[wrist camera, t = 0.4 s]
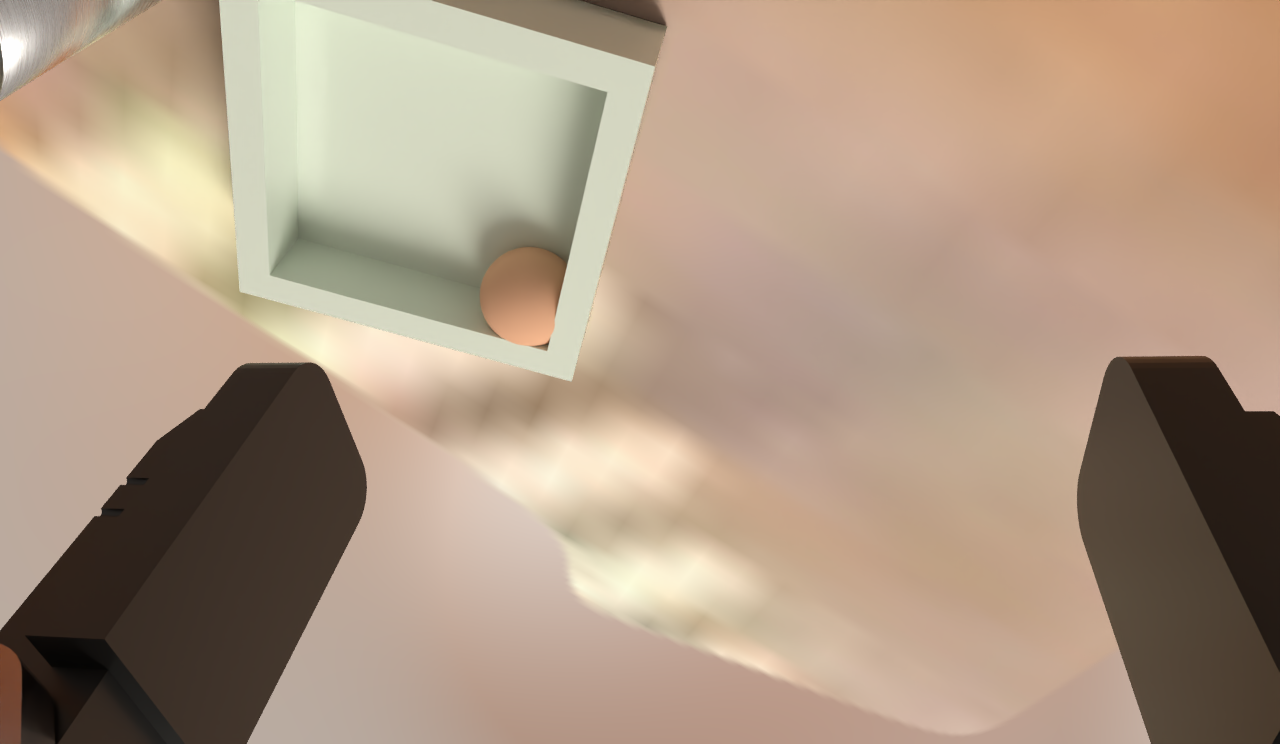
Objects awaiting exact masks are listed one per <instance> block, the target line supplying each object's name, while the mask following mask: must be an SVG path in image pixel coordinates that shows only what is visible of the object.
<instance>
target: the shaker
mask: <svg viewBox="0 0 1280 744" xmlns="http://www.w3.org/2000/svg"><path fill="white" fill-rule="evenodd" d="M160 1H162V0H0V101H1V100H2V99H4V98H5V97H7V96H9V95H10V94H12V93H14V92H15V91H17V90H18V89H20V88H22V87H23V86H25V85H26V84H28V83H30V82H31V81H33V80H35V79H36V78H38V77H39V76H41V75H43V74H44V73H46V72H47V71H49V70H51V69H52V68H54V67H56V66H57V65H59V64H60V63H62V62H64V61H65V60H67V59H68V58H70V57H72V56H73V55H75V54H76V53H78V52H80V51H81V50H83V49H85V48H86V47H88V46H89V45H91V44H93V43H94V42H96V41H97V40H99V39H101V38H102V37H104V36H106V35H107V34H109V33H110V32H112V31H114V30H115V29H117V28H118V27H120V26H122V25H123V24H125V23H127V22H128V21H130V20H131V19H133V18H135V17H136V16H138V15H139V14H141V13H143V12H144V11H146V10H148V9H149V8H151V7H152V6H154V5H156V4H157V3H159V2H160Z"/></svg>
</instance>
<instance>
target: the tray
mask: <svg viewBox="0 0 1280 744" xmlns="http://www.w3.org/2000/svg"><path fill="white" fill-rule="evenodd" d="M219 6H220V20H221V34H222V48H223V63H224V77H225V91H226V105H227V119H228V133H229V147H230V161H231V175H232V189H233V203H234V217H235V232H236V246H237V260H238V274H239V288H240V292H243V293H247V294H250V295H254V296H258V297H261V298H265V299H269V300H273V301H276V302H280V303H284V304H287V305H291V306H295V307H298V308H302V309H306V310H309V311H313V312H317V313H320V314H324V315H328V316H332V317H335V318H339V319H343V320H346V321H350V322H354V323H357V324H361V325H365V326H368V327H372V328H376V329H379V330H383V331H387V332H391V333H394V334H398V335H402V336H405V337H409V338H413V339H416V340H420V341H424V342H427V343H431V344H435V345H438V346H442V347H446V348H450V349H453V350H457V351H461V352H464V353H468V354H472V355H475V356H479V357H483V358H486V359H490V360H494V361H497V362H501V363H505V364H509V365H512V366H516V367H520V368H523V369H527V370H531V371H534V372H538V373H542V374H545V375H549V376H553V377H556V378H560V379H564V380H568V381H571V382H572V378H573V375H574V371H575V368H576V364H577V361H578V357H579V354H580V350H581V347H582V343H583V340H584V336H585V332H586V329H587V325H588V321H589V318H590V314H591V310H592V306H593V303H594V299H595V295H596V291H597V288H598V284H599V280H600V276H601V273H602V269H603V265H604V261H605V257H606V254H607V250H608V246H609V242H610V239H611V235H612V231H613V227H614V224H615V220H616V216H617V212H618V209H619V205H620V201H621V197H622V194H623V190H624V186H625V182H626V178H627V175H628V171H629V167H630V163H631V160H632V156H633V152H634V148H635V145H636V141H637V137H638V133H639V130H640V126H641V122H642V118H643V115H644V111H645V107H646V103H647V100H648V96H649V92H650V88H651V84H652V81H653V77H654V73H655V69H656V66H657V62H658V58H659V54H660V51H661V47H662V43H663V39H664V36H665V32H666V28H667V26H664V25H660V24H657V23H654V22H650V21H647V20H644V19H640V18H637V17H634V16H630V15H627V14H624V13H620V12H617V11H614V10H610V9H607V8H604V7H600V6H597V5H593V4H590V3H587V2H583V1H580V0H219ZM521 247H536V248H542V249H545V250H548V251H550V252H552V253H554V254H556V255H557V256H559V257H560V258H561V259H563V260H564V261H565V262H566V263H567V268H566V273H565V277H564V281H563V286H562V290H561V294H560V299H559V303H558V307H557V311H556V316H555V327H554V331H553V333H552V335H551V337H550V342H549V343H547V344H544V345H538V346H524V345H518V344H514V343H512V342H509V341H507V340H505V339H503V338H502V337H500V336H499V335H498V334H496V333H495V332H494V331H493V330H492V329H491V327H490V326H489V324H488V323H487V321H486V320H485V318H484V315H483V313H482V310H481V305H480V287H481V283H482V280H483V277H484V275H485V273H486V271H487V270H488V268H489V267H490V265H491V264H492V263H493V262H494V261H495V260H496V259H497V258H498V257H500V256H501V255H503V254H504V253H506V252H508V251H511V250H513V249H517V248H521Z"/></svg>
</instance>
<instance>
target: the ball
mask: <svg viewBox="0 0 1280 744" xmlns="http://www.w3.org/2000/svg"><path fill="white" fill-rule="evenodd" d="M566 268H567V263H566V262H565V261H564V260H563V259H561V258H560V257H559V256H557V255H556V254H554V253H552V252H550V251H548V250H545V249H542V248H536V247H521V248H517V249H513V250H511V251H508V252H506V253H504V254H503V255H501V256H500V257H498V258H497V259H496V260H495V261H494V262H493V263H492V264H491V265H490V267H489V268H488V270H487V271H486V273H485V275H484V277H483V280H482V283H481V287H480V305H481V310H482V313H483V315H484V318H485V320H486V321H487V323H488V324H489V326H490V327H491V329H492V330H493V331H494V332H495V333H496V334H498V335H499V336H500V337H502V338H503V339H505V340H507V341H509V342H512V343H514V344H518V345H524V346H538V345H544V344H547V343H549V342H550V337H551V335H552V333H553V331H554V327H555V316H556V311H557V307H558V303H559V299H560V294H561V290H562V286H563V281H564V277H565V273H566Z"/></svg>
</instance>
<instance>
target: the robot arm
mask: <svg viewBox="0 0 1280 744" xmlns="http://www.w3.org/2000/svg"><path fill="white" fill-rule="evenodd" d="M366 489H367V485H366V474H365V468H364V465H363V462H362V460H361V457H360V455H359V452H358V450H357V447H356V445H355V442H354V440H353V437H352V435H351V432H350V430H349V428H348V425H347V423H346V420H345V418H344V415H343V413H342V410H341V408H340V405H339V403H338V401H337V398H336V396H335V393H334V391H333V388H332V386H331V383H330V381H329V379H328V377H327V375H326V373H325V372H324V370H323V369H322V368H321V367H320V366H318V365H317V364H314V363H248V364H244V365H242V366H240V367H239V368H237V370H235V371H234V372H233V374H232V375H231V376H230V377H229V379H228V380H227V381H226V382H225V384H224V385H223V386H222V387H221V389H220V390H219V391H218V393H217V394H216V395H215V396H214V397H213V399H212V400H211V401H210V403H209V404H208V405H207V406H206V408H205V409H200V410H198V411H197V412H195V413H194V414H193V415H191V416H190V417H189V418H187V419H186V420H185V421H183V422H182V423H180V424H179V425H178V426H176V427H175V428H174V429H172V430H171V431H170V432H168V433H167V434H165V435H164V436H163V437H161V438H160V439H159V440H157V441H156V442H155V444H154V445H153V446H152V448H151V449H150V450H149V451H148V452H147V453H146V455H145V456H144V457H143V458H142V459H141V461H140V462H139V463H138V464H137V465H136V467H135V468H134V469H133V470H132V472H131V473H130V474H129V475H128V476H127V484H126V485H120V486H119V487H118V489H117V490H116V491H115V492H114V493H113V495H112V496H111V497H110V498H109V499H108V501H107V502H106V503H105V504H104V505H103V507H102V508H101V509H102V514H101V516H98V517H97V516H95V517H94V518H93V519H92V520H91V521H90V523H89V524H88V525H87V526H86V527H85V528H84V530H83V531H82V532H81V533H80V535H79V536H78V537H77V538H76V539H75V541H74V542H73V543H72V544H71V545H70V547H69V548H68V549H67V550H66V552H65V553H64V554H63V555H62V557H61V558H60V559H59V560H58V561H57V563H56V564H55V565H54V566H53V567H52V569H51V570H50V571H49V572H48V573H47V575H46V576H45V577H44V578H43V579H42V581H41V582H40V583H39V584H38V586H37V587H36V588H35V589H34V590H33V592H32V593H31V594H30V595H29V596H28V598H27V599H26V600H25V601H24V603H23V604H22V605H21V606H20V607H19V609H18V610H17V611H16V612H15V613H14V615H13V616H12V617H11V618H10V619H9V621H8V622H7V623H6V624H5V625H4V627H3V628H2V629H1V630H0V744H247V742H248V740H249V738H250V736H251V734H252V732H253V730H254V728H255V726H256V724H257V722H258V720H259V718H260V716H261V714H262V712H263V710H264V708H265V706H266V704H267V702H268V700H269V698H270V696H271V694H272V693H273V691H274V689H275V686H276V685H277V683H278V680H279V679H280V676H281V675H282V673H283V671H284V669H285V667H286V665H287V663H288V661H289V659H290V657H291V655H292V653H293V651H294V649H295V647H296V645H297V643H298V641H299V639H300V637H301V635H302V633H303V632H304V630H305V628H306V626H307V624H308V621H309V620H310V618H311V616H312V614H313V612H314V610H315V608H316V606H317V604H318V602H319V600H320V598H321V596H322V594H323V592H324V590H325V588H326V586H327V584H328V582H329V580H330V578H331V576H332V574H333V573H334V571H335V568H336V567H337V564H338V563H339V560H340V559H341V557H342V555H343V553H344V551H345V549H346V547H347V545H348V543H349V541H350V539H351V537H352V535H353V533H354V531H355V529H356V527H357V525H358V523H359V521H360V519H361V516H362V514H363V510H364V506H365V501H366V491H367V490H366ZM1077 509H1078V519H1079V526H1080V531H1081V535H1082V539H1083V542H1084V545H1085V548H1086V551H1087V554H1088V557H1089V560H1090V563H1091V566H1092V569H1093V572H1094V575H1095V578H1096V581H1097V584H1098V587H1099V590H1100V593H1101V596H1102V599H1103V602H1104V605H1105V608H1106V611H1107V614H1108V617H1109V620H1110V623H1111V626H1112V629H1113V632H1114V635H1115V638H1116V641H1117V643H1118V646H1119V649H1120V652H1121V655H1122V658H1123V661H1124V664H1125V667H1126V670H1127V673H1128V676H1129V679H1130V682H1131V685H1132V688H1133V691H1134V694H1135V697H1136V700H1137V703H1138V706H1139V709H1140V712H1141V715H1142V718H1143V721H1144V724H1145V727H1146V730H1147V733H1148V736H1149V739H1150V742H1151V744H1280V416H1279V415H1278V414H1276V413H1275V412H1274V411H1244V409H1243V408H1242V406H1241V404H1240V403H1239V401H1238V399H1237V398H1236V396H1235V395H1234V393H1233V391H1232V390H1231V388H1230V386H1229V385H1228V383H1227V381H1226V380H1225V378H1224V377H1223V375H1222V373H1221V372H1220V370H1219V368H1218V367H1217V366H1216V364H1215V363H1214V362H1213V361H1212V360H1211V359H1210V358H1208V357H1206V356H1156V357H1116V358H1114V359H1113V360H1112V361H1111V362H1110V364H1109V365H1108V367H1107V370H1106V372H1105V376H1104V379H1103V383H1102V387H1101V391H1100V395H1099V399H1098V403H1097V407H1096V410H1095V414H1094V418H1093V422H1092V426H1091V430H1090V434H1089V438H1088V442H1087V446H1086V450H1085V454H1084V458H1083V462H1082V466H1081V469H1080V474H1079V479H1078V489H1077Z"/></svg>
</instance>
